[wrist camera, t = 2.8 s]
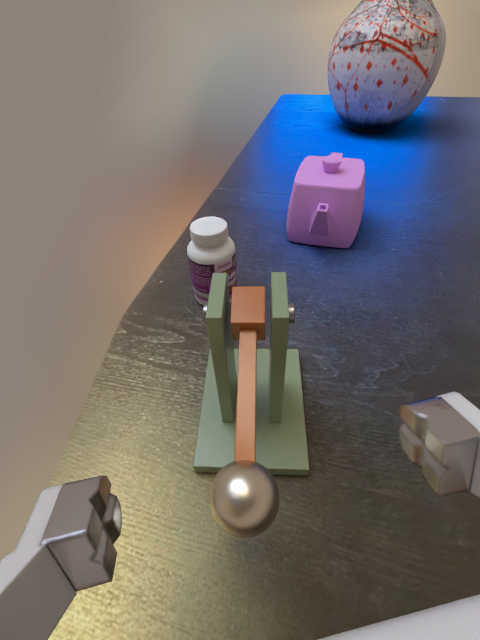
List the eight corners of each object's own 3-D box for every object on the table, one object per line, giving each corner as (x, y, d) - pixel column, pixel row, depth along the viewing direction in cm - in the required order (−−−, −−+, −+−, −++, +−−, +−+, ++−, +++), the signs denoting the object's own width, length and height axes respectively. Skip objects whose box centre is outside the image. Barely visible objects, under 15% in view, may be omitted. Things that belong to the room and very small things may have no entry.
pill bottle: (226, 314, 41) (219, 243, 34) (187, 303, 42) (172, 233, 35) (245, 286, 44) (241, 217, 37) (207, 277, 46) (198, 209, 39)
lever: (278, 537, 18) (281, 541, 15) (211, 534, 19) (201, 538, 16) (274, 309, 25) (276, 280, 22) (225, 309, 26) (220, 280, 23)
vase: (343, 108, 96) (364, -36, 76) (432, 119, 86) (483, -44, 67) (304, 133, 83) (318, -33, 63) (404, 149, 73) (457, -42, 53)
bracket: (308, 475, 27) (333, 370, 18) (195, 472, 28) (158, 368, 18) (297, 356, 36) (310, 240, 26) (210, 355, 36) (191, 242, 27)
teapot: (353, 267, 46) (370, 193, 38) (275, 257, 48) (277, 185, 41) (362, 204, 58) (376, 137, 50) (298, 198, 60) (303, 134, 53)
